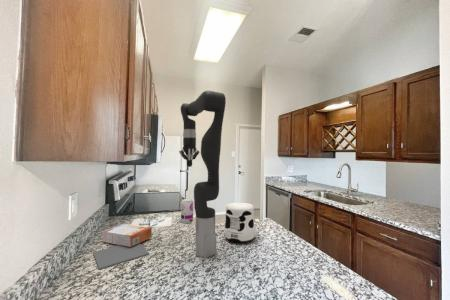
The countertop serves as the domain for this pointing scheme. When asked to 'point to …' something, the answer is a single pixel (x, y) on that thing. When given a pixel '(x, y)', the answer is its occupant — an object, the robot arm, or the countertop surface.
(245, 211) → the milk container
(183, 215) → the supplement can
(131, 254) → the mat
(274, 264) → the countertop surface
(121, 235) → the cracker box
